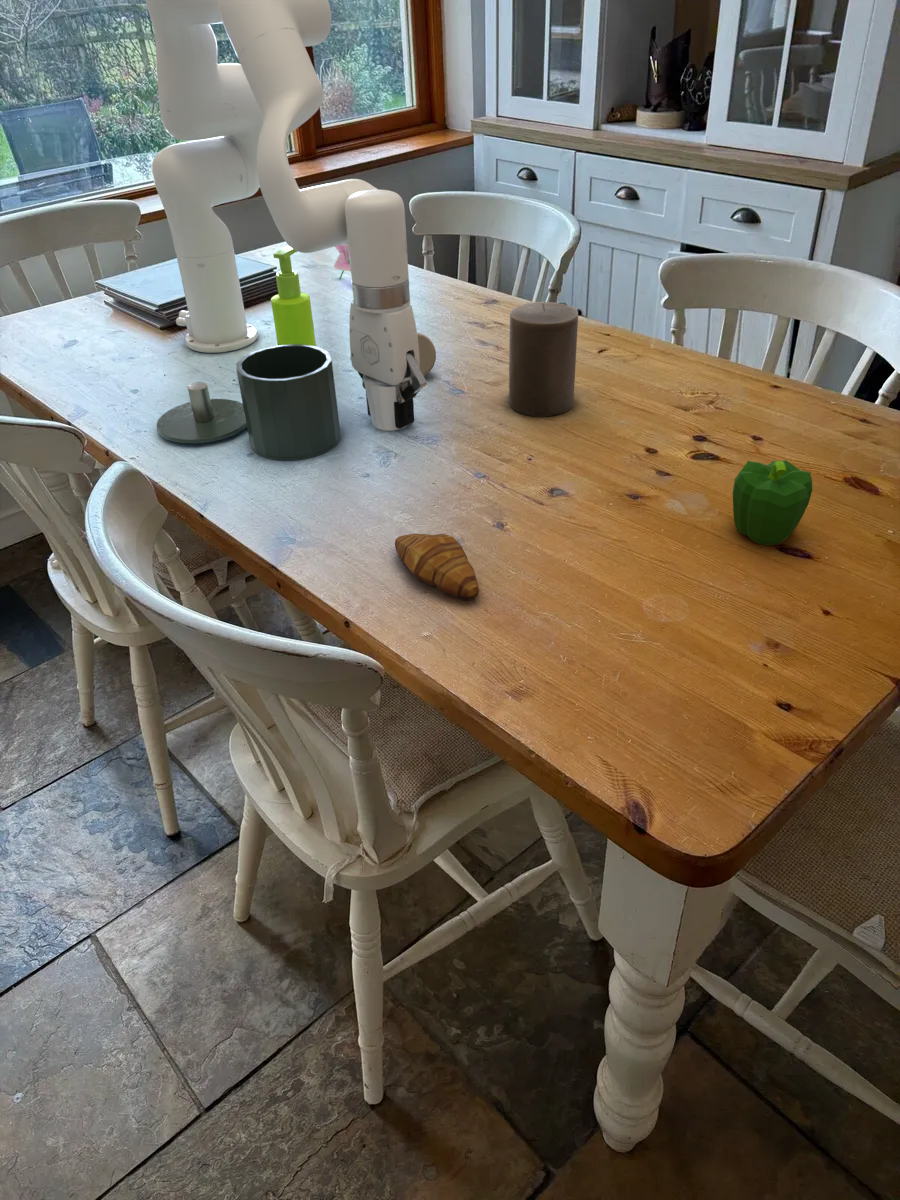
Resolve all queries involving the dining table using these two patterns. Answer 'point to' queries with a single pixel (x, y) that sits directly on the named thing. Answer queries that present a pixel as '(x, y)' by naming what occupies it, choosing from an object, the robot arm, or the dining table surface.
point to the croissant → (439, 563)
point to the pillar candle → (542, 358)
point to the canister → (289, 401)
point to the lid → (202, 418)
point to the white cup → (382, 403)
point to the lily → (343, 259)
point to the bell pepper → (770, 500)
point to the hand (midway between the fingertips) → (391, 417)
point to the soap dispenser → (291, 305)
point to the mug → (426, 353)
